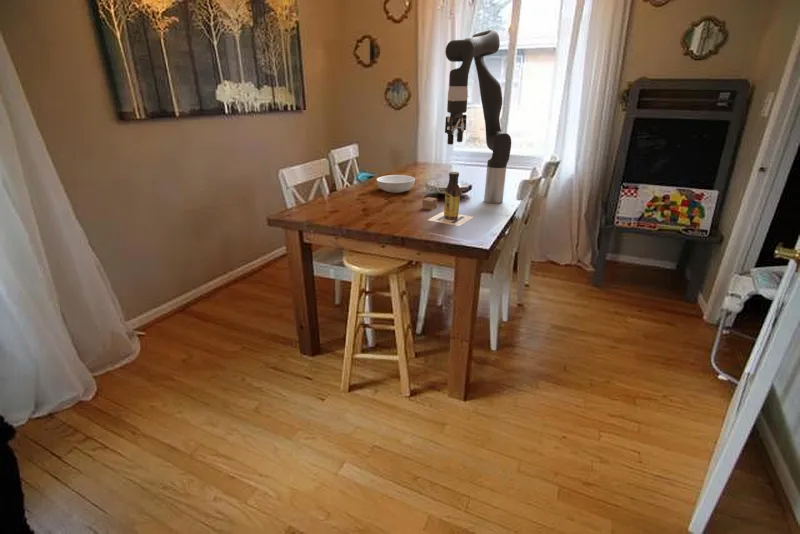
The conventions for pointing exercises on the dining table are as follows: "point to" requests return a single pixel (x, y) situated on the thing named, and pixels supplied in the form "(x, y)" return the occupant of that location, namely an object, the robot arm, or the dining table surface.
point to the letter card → (456, 222)
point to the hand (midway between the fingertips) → (455, 143)
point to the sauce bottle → (452, 197)
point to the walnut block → (429, 203)
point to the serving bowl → (395, 183)
